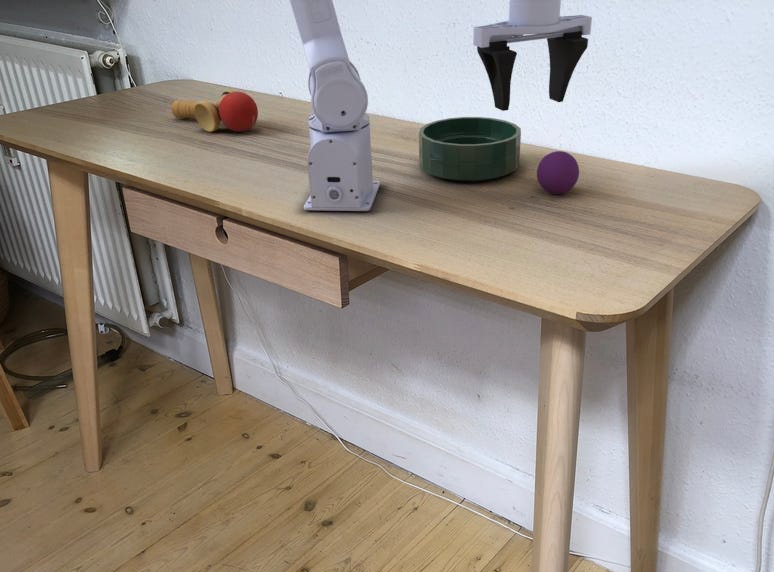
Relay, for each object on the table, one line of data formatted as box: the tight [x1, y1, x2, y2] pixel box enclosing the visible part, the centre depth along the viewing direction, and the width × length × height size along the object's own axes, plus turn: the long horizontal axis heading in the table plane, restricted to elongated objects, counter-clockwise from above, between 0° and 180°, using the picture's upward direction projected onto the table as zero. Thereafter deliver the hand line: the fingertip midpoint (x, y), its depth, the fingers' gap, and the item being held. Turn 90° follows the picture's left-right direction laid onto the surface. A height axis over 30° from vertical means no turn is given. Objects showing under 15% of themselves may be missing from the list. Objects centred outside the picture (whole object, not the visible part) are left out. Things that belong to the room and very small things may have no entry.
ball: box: [536, 150, 580, 195], centre depth 91 cm, size 5×5×5 cm
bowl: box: [418, 116, 522, 182], centre depth 100 cm, size 13×13×5 cm
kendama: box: [171, 89, 259, 133], centre depth 122 cm, size 8×6×18 cm
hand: (529, 104), depth 91 cm, fingers open, 7 cm apart
